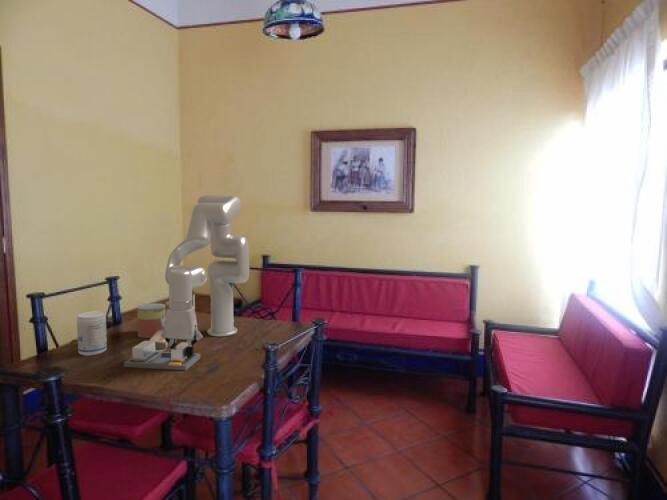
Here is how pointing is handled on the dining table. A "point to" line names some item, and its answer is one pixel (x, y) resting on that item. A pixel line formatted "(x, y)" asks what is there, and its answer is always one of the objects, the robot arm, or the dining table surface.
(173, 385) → the dining table surface
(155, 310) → the canned food
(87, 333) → the supplement tub
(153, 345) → the panel seated
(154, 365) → the rack
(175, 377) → the dining table surface
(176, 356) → the white rectangular block
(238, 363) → the dining table surface
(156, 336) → the packaged product
